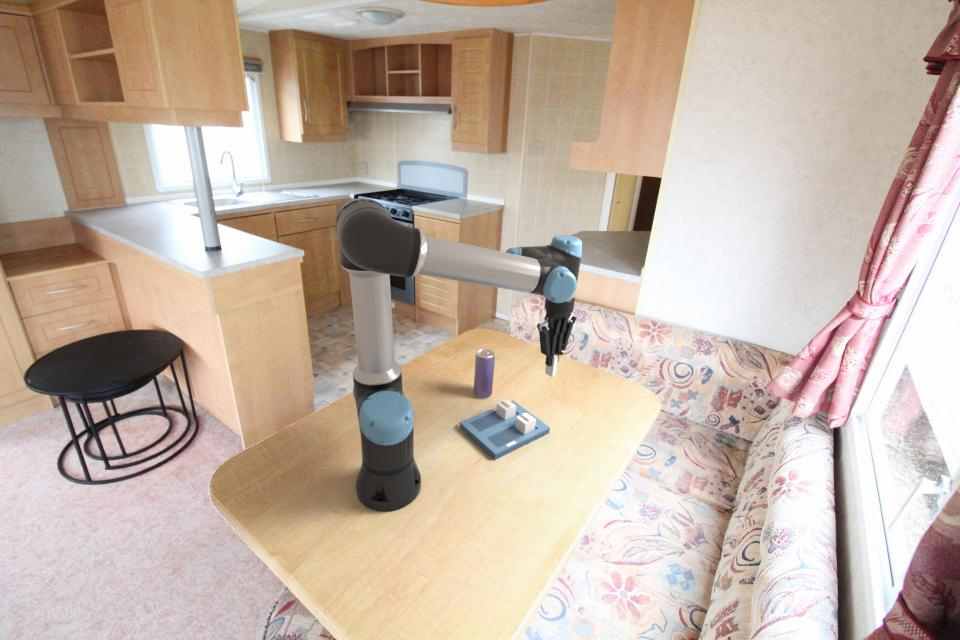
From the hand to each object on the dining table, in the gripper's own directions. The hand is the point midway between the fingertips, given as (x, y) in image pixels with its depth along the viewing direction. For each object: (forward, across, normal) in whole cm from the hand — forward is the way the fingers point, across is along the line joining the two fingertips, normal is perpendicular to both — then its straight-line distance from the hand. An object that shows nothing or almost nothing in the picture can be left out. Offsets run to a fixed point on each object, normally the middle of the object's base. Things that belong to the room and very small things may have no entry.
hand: (550, 374), depth 130 cm
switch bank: (+17, -12, +4) cm, 21 cm away
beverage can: (+17, -6, +22) cm, 28 cm away
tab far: (+15, -8, +8) cm, 19 cm away
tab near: (+15, -8, 0) cm, 17 cm away
